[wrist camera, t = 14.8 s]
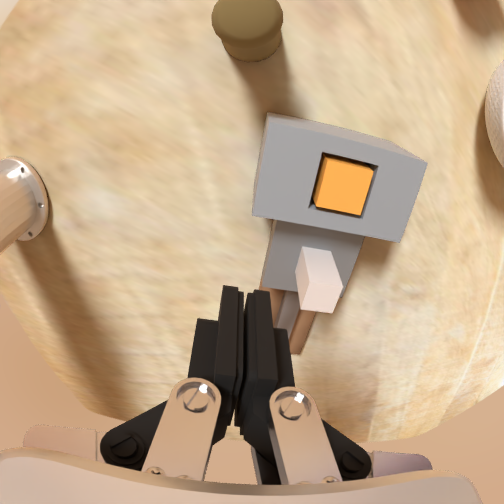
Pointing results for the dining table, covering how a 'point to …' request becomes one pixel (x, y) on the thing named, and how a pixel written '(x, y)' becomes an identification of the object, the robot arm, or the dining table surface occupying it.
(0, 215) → the robot arm
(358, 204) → the button
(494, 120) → the cereal bowl
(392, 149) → the grey button housing
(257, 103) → the dining table surface
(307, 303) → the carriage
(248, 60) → the cork
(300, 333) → the rail track
